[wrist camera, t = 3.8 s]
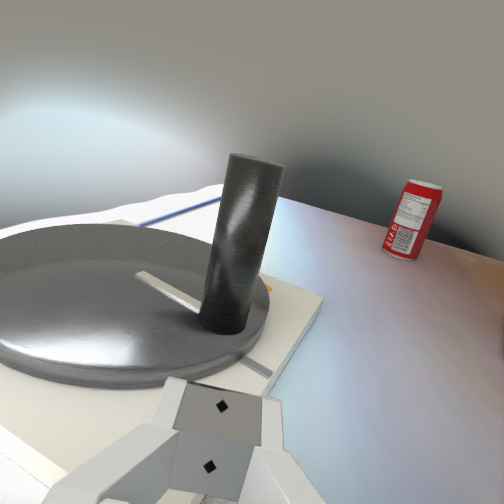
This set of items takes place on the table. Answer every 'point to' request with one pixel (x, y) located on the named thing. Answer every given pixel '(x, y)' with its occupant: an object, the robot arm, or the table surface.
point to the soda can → (412, 219)
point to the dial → (140, 293)
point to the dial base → (134, 397)
